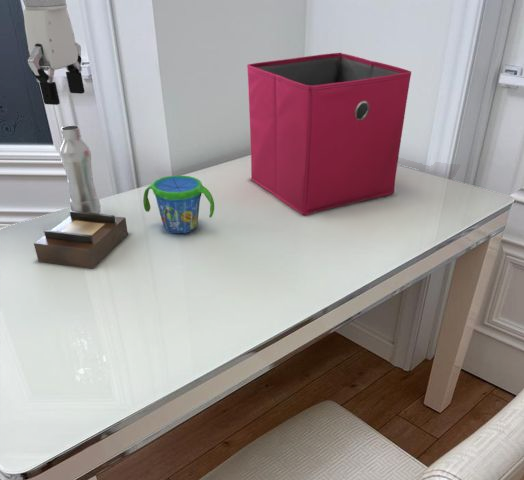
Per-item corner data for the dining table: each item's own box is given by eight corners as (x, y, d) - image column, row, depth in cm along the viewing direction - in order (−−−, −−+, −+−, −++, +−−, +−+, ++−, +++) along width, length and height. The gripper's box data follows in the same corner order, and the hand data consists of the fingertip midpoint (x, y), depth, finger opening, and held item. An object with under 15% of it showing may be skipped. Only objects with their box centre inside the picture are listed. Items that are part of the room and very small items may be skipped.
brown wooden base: (38, 261, 110) (31, 236, 107) (78, 228, 123) (73, 205, 119) (92, 268, 108) (87, 243, 105) (128, 234, 120) (124, 210, 117)
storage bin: (304, 218, 127) (310, 84, 110) (246, 180, 147) (244, 61, 130) (398, 196, 138) (417, 71, 121) (332, 163, 158) (340, 51, 141)
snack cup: (222, 223, 125) (220, 179, 119) (204, 242, 117) (201, 196, 111) (159, 214, 129) (154, 171, 123) (138, 233, 121) (132, 188, 115)
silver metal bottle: (67, 219, 127) (46, 129, 115) (89, 209, 131) (72, 122, 119) (85, 226, 124) (66, 134, 112) (108, 216, 128) (92, 126, 116)
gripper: (51, -5, 109) (70, 88, 119) (-3, 3, 96) (24, 108, 106) (85, -5, 108) (102, 89, 118) (35, 4, 94) (59, 109, 105)
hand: (65, 98), depth 112 cm, fingers open, 9 cm apart
